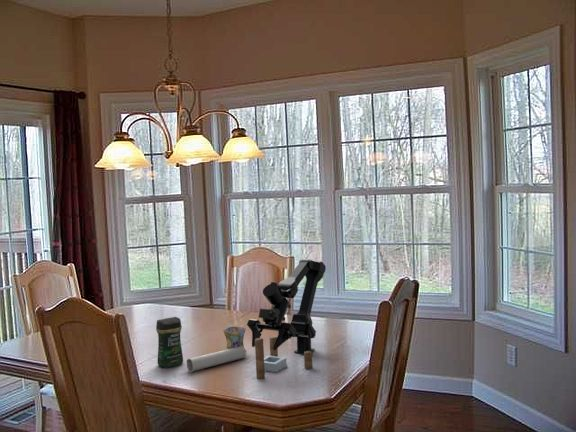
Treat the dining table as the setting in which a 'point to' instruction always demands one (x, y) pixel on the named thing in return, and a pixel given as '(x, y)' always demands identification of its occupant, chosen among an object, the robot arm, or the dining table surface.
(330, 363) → the dining table surface
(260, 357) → the long walnut dowel
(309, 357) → the short walnut dowel
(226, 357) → the tube
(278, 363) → the slate collar block
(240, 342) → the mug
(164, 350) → the coffee jar
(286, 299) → the robot arm
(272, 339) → the medium walnut dowel
